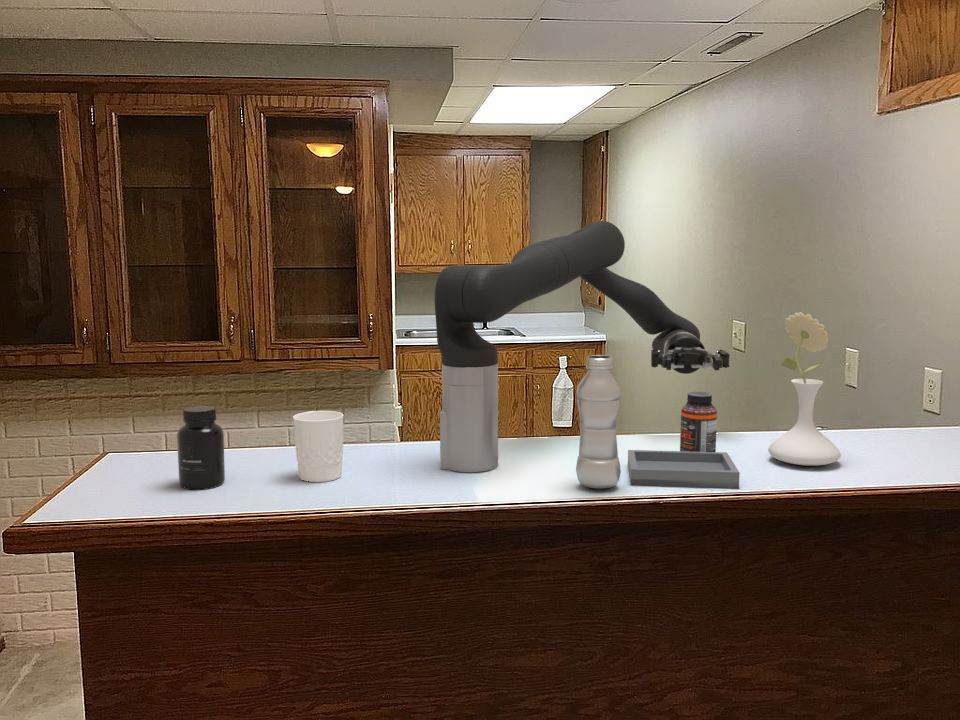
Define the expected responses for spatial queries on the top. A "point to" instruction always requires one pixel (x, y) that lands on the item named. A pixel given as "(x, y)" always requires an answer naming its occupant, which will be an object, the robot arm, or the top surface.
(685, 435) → the supplement bottle
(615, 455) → the plastic bottle
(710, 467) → the gray tray
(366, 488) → the top surface
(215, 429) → the supplement bottle
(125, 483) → the top surface
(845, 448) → the top surface
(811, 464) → the flower in vase
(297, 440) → the white cup
